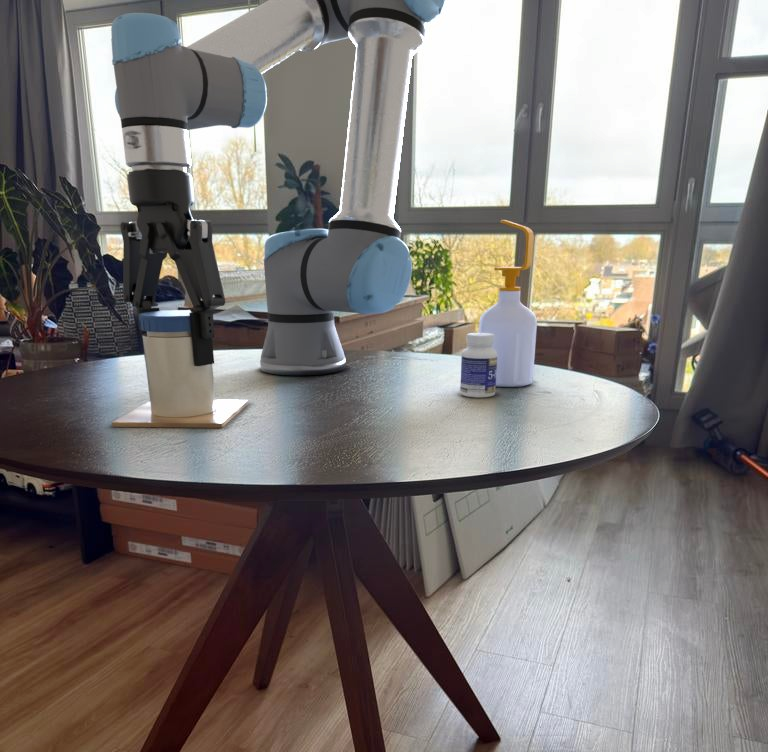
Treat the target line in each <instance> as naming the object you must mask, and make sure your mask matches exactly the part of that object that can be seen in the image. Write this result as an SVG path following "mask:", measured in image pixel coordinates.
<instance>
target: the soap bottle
mask: <svg viewBox="0 0 768 752" xmlns="http://www.w3.org/2000/svg"><path fill="white" fill-rule="evenodd" d="M500 223H501V224H504V225H506V226H510V227H512V228H515V229H518V230H521V231H522V232H523V233H524V235H525V253H524V254H525V256H524V263H523V265H522V266H495V267H494V269H493V270H494V271H501V277H504V286H499V288H498V289H499V290H498V301H497V302H496V303H495V304H494V305H492V306H491V307H489V308H487V310H485V311H484V312H483V313H482V314H481V316H480V319H479V321H478V333H491V334H494V342H493V343H494V344H493V345H492V349H494V350H496V352H497V370H496V388H519V387H526V386H529V385H531V384H533V382H534V371H535V359H536V356H535V355H536V342H537V330H538V329H537V327H538V320H537V317H536V314H535V313H534V312H533V311H532V310H531V309H530V308H528V307H527V306H526V305H524V304H523V303H522V302H521V286H516V283H517V277H520V274H521V273H520V272H521V271H524V270H528V269H529V268H531V267H532V265H533V255H534V254H533V253H534V239H535V234H534V231H533V230H532V229H531V228H529V227H528V226H526V225H522V224H520V223H515V222H514V221H510V220H507V219H501V220H500Z"/></svg>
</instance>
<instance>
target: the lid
mask: <svg viewBox="0 0 768 752" xmlns="http://www.w3.org/2000/svg"><path fill="white" fill-rule="evenodd" d="M190 312H191V311H190V309H177V310H176V309H173V310H171V309H170V310H169V309H168V310H159V311H153V312H144V313H140V314H139V321H138V322H139V323H138V326H139V325H140V329H141V330H142V331H148V332H186V331H191V325H190V314H189V313H190Z"/></svg>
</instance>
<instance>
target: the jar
mask: <svg viewBox="0 0 768 752" xmlns="http://www.w3.org/2000/svg"><path fill="white" fill-rule="evenodd" d="M141 338H142V339H143V340H142V348H143V347H144V349H143V356H144V355H145V357H144V363H145V371H146V372H145V373H146V380H147V387H148V396H149V401H150V405H151V413H152V414H153V415H156V416H161V417H192V416H199V415H204V414H208V413H211V412H213V411H215V410H216V400H217V399H216V388H215V378H214V377H215V376H214V366H213V364H209V365H203V366H194V356H193V346H192V335H191V331H186V332H148V331H147V333H146V334H143V335H142V334H141Z"/></svg>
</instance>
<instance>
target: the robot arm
mask: <svg viewBox="0 0 768 752" xmlns="http://www.w3.org/2000/svg"><path fill="white" fill-rule="evenodd" d="M445 3H446V0H267V1H265V2H263V3H260V5H257V6H255V7H254V8H252V9H251V10H249V11H247V12H246V13H244V14H242V15H240V16H238V17H237V18H234V19H232V21H230V22H228V23H226V24H224V25H223V26H221V27H219V28H217V29H216V30H214V31H212V32H210V33H208V34H207V35H205V36H203V37H201V38H200V39H198V40H196V41H195V42H193V43H191V44H189V45H188V46H183V45H182V42H183V41H182V38H181V34H180V29H179V26H178V24H177V23H176V22H175V21H174V20H173V19H170V18H168V17H167V16H164V15H161V14H155V13H149V12H131V13H124V14H121V15H119V16H116V18H115V19H114V20H113V21H112V24H111V27H110V31H111V32H110V33H111V39H110V41H111V52H112V53H111V54H112V60H111V62H112V65H113V71H114V78H115V79H114V80H115V86H116V89H115V91H114V92H115V93H114V104H115V109H116V111H117V114H118V116H119V118H120V124H121V125H120V126H121V133H122V141H123V150H124V151H123V152H124V160H125V165H126V166H127V167H128V168H131V171H128V174H126V180H127V187H128V196H129V202H130V204H131V205H133V206H134V207H136V209H137V216H136V220H134V221H127V222H126V221H121V223H120V225H119V227H120V228H119V229H120V232H121V237H122V243H123V244H122V245H123V246H122V247H123V249H122V250H123V256H122V258H123V259H122V261H123V263H122V264H123V265H122V267H123V268H122V269H123V270H122V275H123V276H122V278H123V279H122V285H123V286H122V299H123V301H124V302H125V303H127V304H128V303H130V304H132V305H133V307H134V308H135V309H136V313H137V321H138V330H139V333H140V334H141V336H142V335H143V334H146V333H147V331H142V330H141V329H140V325H139V314H140V313H144V312H153V311H160V308H159V307H158V306H159V303H157V301H156V296H157V292H158V286H159V281H160V277H161V272H162V266H163V263H164V260H166V258H167V257H168V256H169V259H171V260H172V261H174V263H175V265H176V268H177V271H178V274H179V276H180V278H181V280H182V283H183V286H184V288H185V290H186V293H187V295H188V297H189V300H190V302H191V305H192V307H191V308H189V310H190V311H191V312H190V313H189V314H190V325H191V335H192V346H193V356H194V366H203V365H209V364H212V365H213V364H214V365H215V357H214V346H213V345H214V344H213V339H214V338H215V323H214V321H215V320H214V311H215V309H218V308H220V307H224V306H225V305H226V298H225V293H224V288H223V284H222V279H221V275H220V271H219V266H218V262H217V257H216V252H215V248H214V247H215V246H214V244H213V223H212V221H211V220H203V219H199V220H197V219H194V218H193V215H192V213H191V210H190V208H191V207H192V206H193V205H194V204H195V192H194V182H193V176H192V175H191V173H190V172H187V171H188V170H187V169H190V168H191V167H192V158H191V147H190V137H189V131H190V130H198V129H204V128H210V127H219V126H222V127H223V126H225V127H230V128H232V129H237V128H243V129H244V128H246V129H249V128H253V127H255V126H256V125H257V124H258V123H260V122H261V120H262V119H263V116H264V114H265V112H266V109H267V104H268V103H267V102H268V97H267V94H268V92H267V84H266V81H265V78H264V75H263V74H264V73H266V72H267V71H268V70H270V69H272V68H274V67H275V66H277V65H279V64H280V63H281V62H283V61H285V60H286V59H288V58H289V57H290V56H293V55H295V53H297V52H299V51H300V52H305V53H306V52H307V53H308V52H312V51H314V50H316V49H317V48H319V47H320V46H322V45H325V44H328V43H331V42H336V41H340V40H345V39H350V40H351V41H352V43H353V44H354V45H355V47H356V49H355V58H354V59H355V60H354V69H353V80H352V88H351V89H352V90H351V96H350V97H351V98H350V108H349V118H348V127H347V137H346V146H345V155H344V165H343V174H342V175H343V176H342V187H341V194H340V195H341V196H340V205H339V211H338V212H337V213H336V214H335V215H333V217H331V218H330V219H329V221H328V228H306V229H299V230H288V231H283V232H277V233H274V234H272V235H270V236H268V237H267V238H266V239H265V242H264V246H263V247H264V248H263V249H264V251H263V253H264V258H263V267H264V268H263V270H264V281H265V294H266V295H265V296H266V309H267V324H268V325H267V331H266V334H265V338H264V343H263V347H262V350H261V355H260V359H259V363H260V370H261V372H264V373H267V374H271V375H279V376H280V375H281V376H314V375H317V376H319V375H326V374H333V373H338V372H341V371H344V370H345V369H346V367H347V365H346V356H345V353H344V349H343V346H342V344H341V341H340V338H339V335H338V332H337V329H336V326H335V325H336V324H335V312H338V313H339V312H341V313H355V314H359V315H364V316H365V315H366V316H367V315H373V314H376V315H377V314H378V315H380V314H385V313H387V312H390V311H392V310H393V309H394V308H396V306H397V304H400V303H401V301H402V300H403V298H404V297H405V295H406V293H407V291H408V288H409V286H410V282H411V278H412V271H413V262H412V258H411V257H410V250H409V248H408V246H407V244H406V243H405V242H404V241H403V240H401V235H402V229H401V228H400V226H399V225H398V223H397V222H396V221H395V219H394V214H395V205H396V196H397V188H398V180H399V172H400V163H401V154H402V146H403V137H404V127H405V120H406V112H407V104H408V103H407V102H408V95H409V94H408V93H409V84H410V78H411V77H410V76H411V68H412V59H413V56H414V55H415V54H416V53H417V52H418V51H420V50H421V49H422V48H423V46H424V42H425V34H426V27H427V24H429V23H433V22H434V21H435V20H436V19H438V18H439V16H440V15H441V14H442V13H443V10H444V7H445ZM141 341H143V339H142V340H141ZM142 348H143V350H144V347H143V346H142ZM143 357H144V358H145V355H144V354H143Z"/></svg>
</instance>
